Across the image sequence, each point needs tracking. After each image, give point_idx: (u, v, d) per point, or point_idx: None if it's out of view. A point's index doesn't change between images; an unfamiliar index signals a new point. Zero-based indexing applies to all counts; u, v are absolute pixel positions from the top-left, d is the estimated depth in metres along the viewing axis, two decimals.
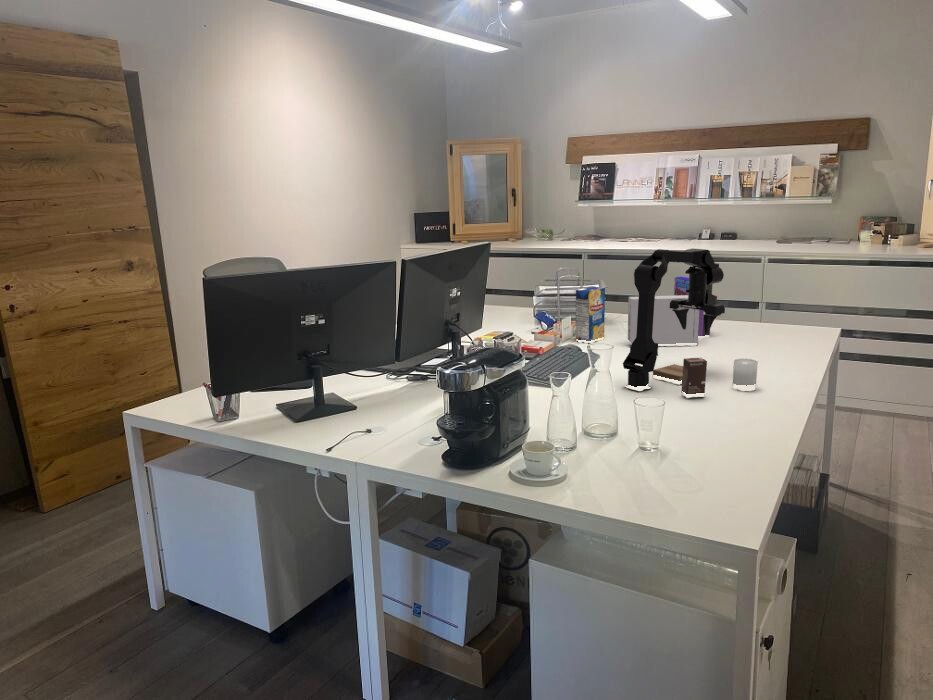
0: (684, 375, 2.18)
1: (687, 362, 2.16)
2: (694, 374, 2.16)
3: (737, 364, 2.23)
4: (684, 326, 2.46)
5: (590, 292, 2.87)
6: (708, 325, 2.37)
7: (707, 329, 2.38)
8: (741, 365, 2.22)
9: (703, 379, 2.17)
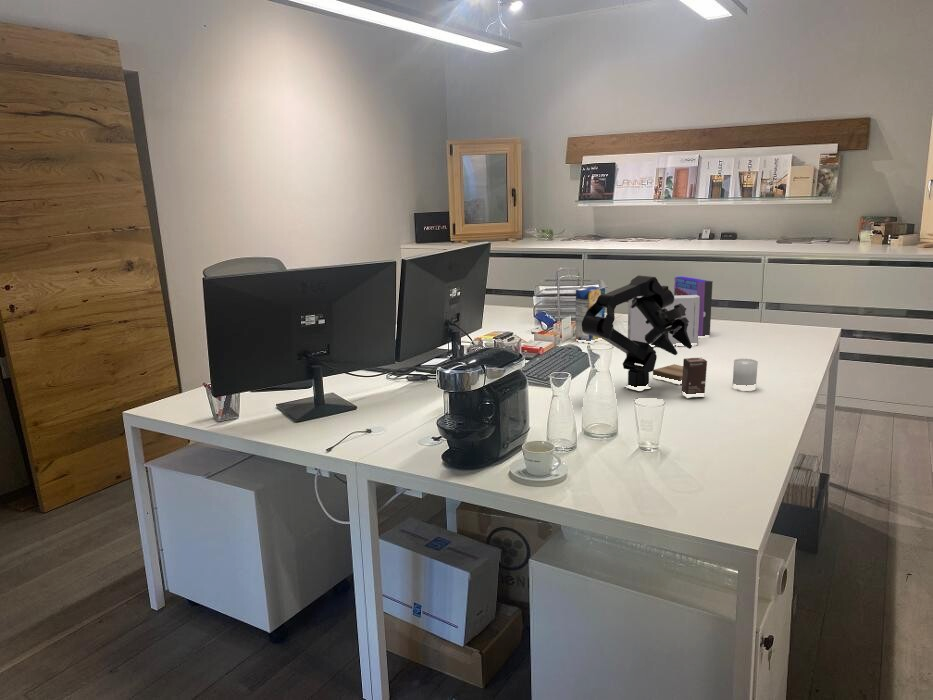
0: (684, 375, 2.18)
1: (687, 362, 2.16)
2: (694, 374, 2.16)
3: (737, 364, 2.23)
4: (687, 345, 2.24)
5: (590, 292, 2.87)
6: (666, 348, 2.18)
7: (671, 351, 2.18)
8: (741, 365, 2.22)
9: (703, 379, 2.17)
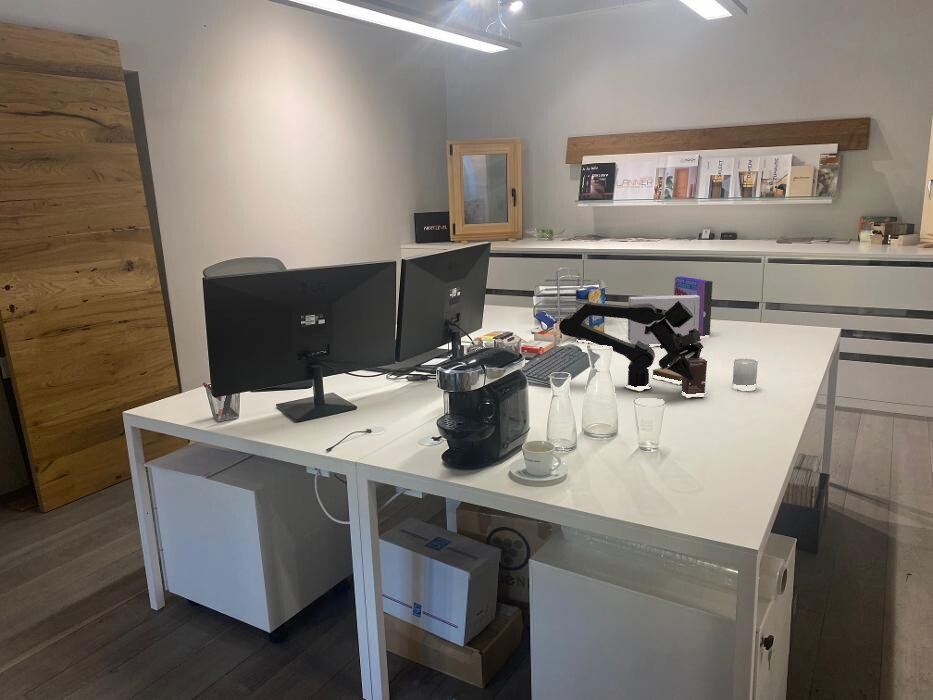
0: None
1: (687, 362, 2.16)
2: (694, 374, 2.16)
3: (737, 364, 2.23)
4: None
5: (590, 292, 2.87)
6: (682, 373, 2.16)
7: (686, 377, 2.15)
8: (741, 365, 2.22)
9: (703, 379, 2.17)
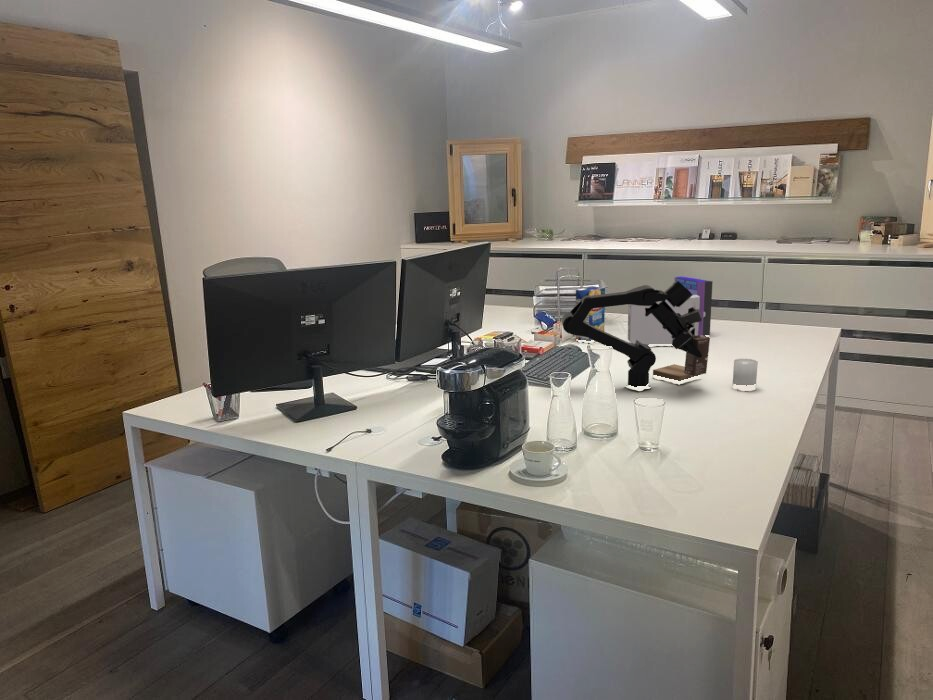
0: (689, 353, 2.22)
1: (694, 340, 2.20)
2: (700, 351, 2.21)
3: (737, 364, 2.23)
4: None
5: (590, 292, 2.87)
6: (692, 351, 2.19)
7: (696, 354, 2.19)
8: (741, 365, 2.22)
9: (706, 355, 2.23)
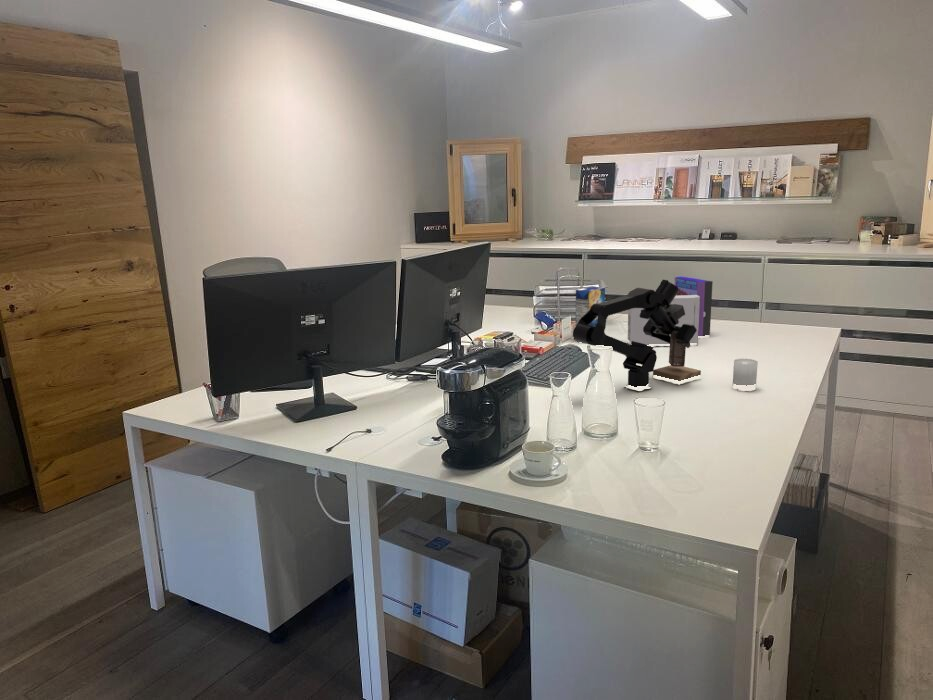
0: (677, 346, 2.34)
1: None
2: None
3: (737, 364, 2.23)
4: None
5: (590, 292, 2.87)
6: (686, 343, 2.32)
7: (687, 345, 2.33)
8: (741, 365, 2.22)
9: None
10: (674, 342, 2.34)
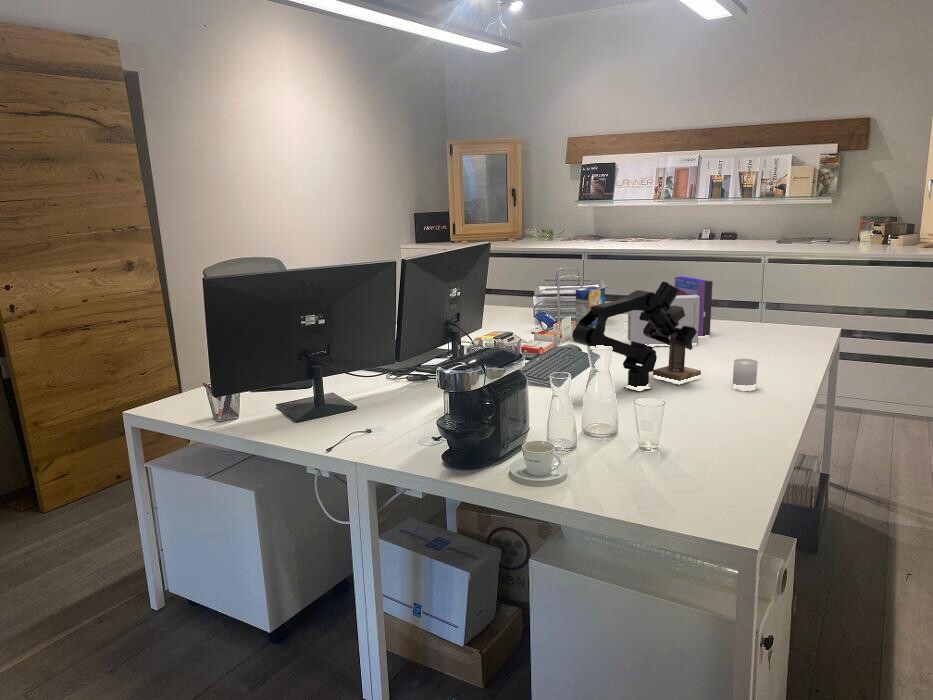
0: (677, 352, 2.34)
1: None
2: None
3: (737, 364, 2.23)
4: (668, 342, 2.40)
5: (590, 292, 2.87)
6: (688, 346, 2.31)
7: (689, 347, 2.32)
8: (741, 365, 2.22)
9: None
10: (673, 348, 2.34)
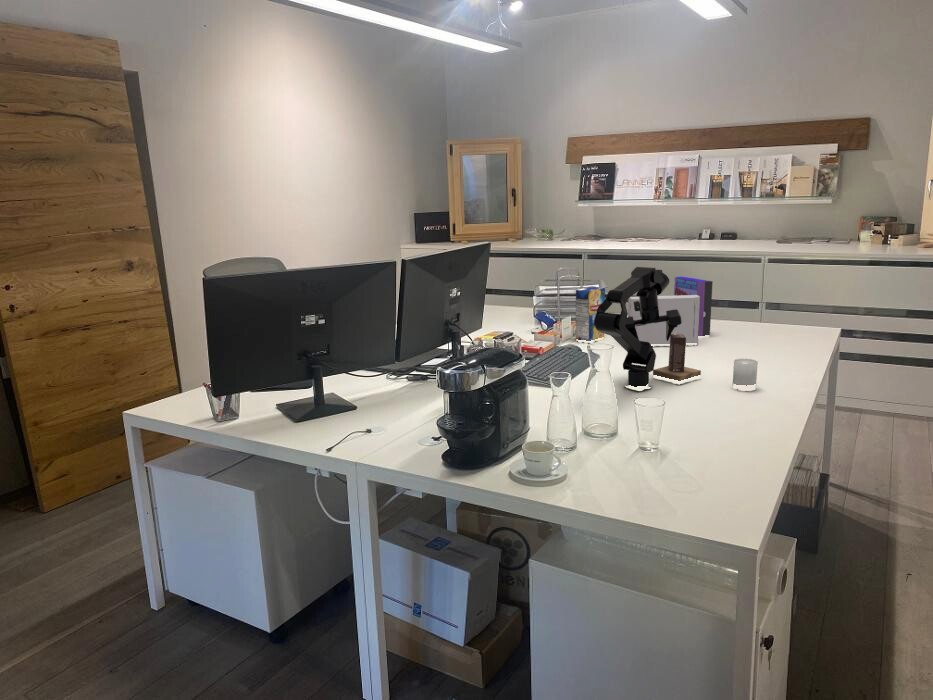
0: (677, 352, 2.34)
1: (682, 338, 2.33)
2: None
3: (737, 364, 2.23)
4: None
5: (590, 292, 2.87)
6: None
7: None
8: (741, 365, 2.22)
9: None
10: (673, 348, 2.34)
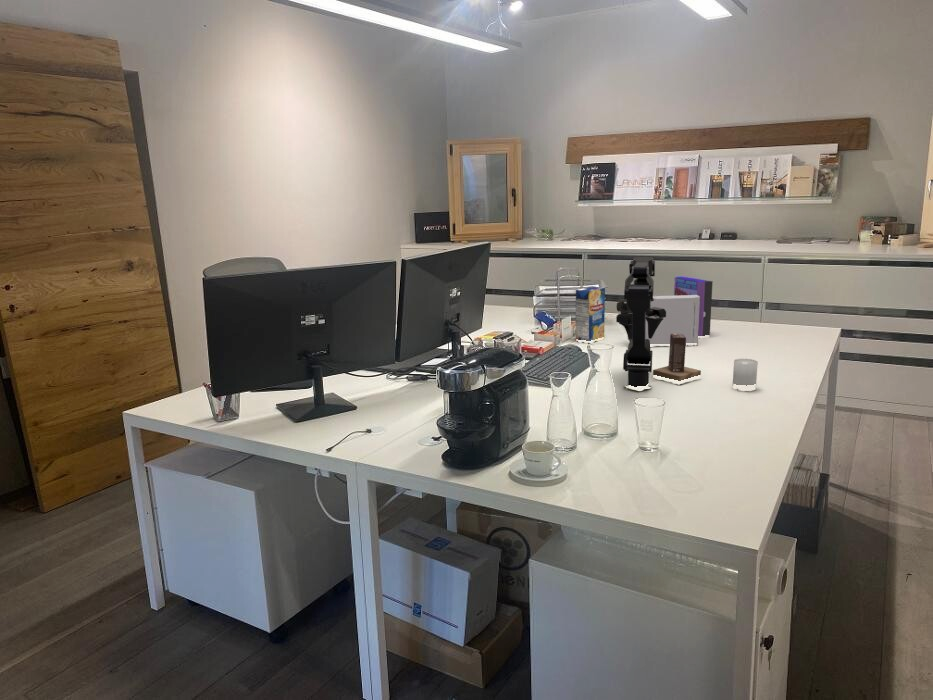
0: (677, 352, 2.34)
1: (682, 338, 2.33)
2: None
3: (737, 364, 2.23)
4: None
5: (590, 292, 2.87)
6: None
7: None
8: (741, 365, 2.22)
9: None
10: (673, 348, 2.34)
